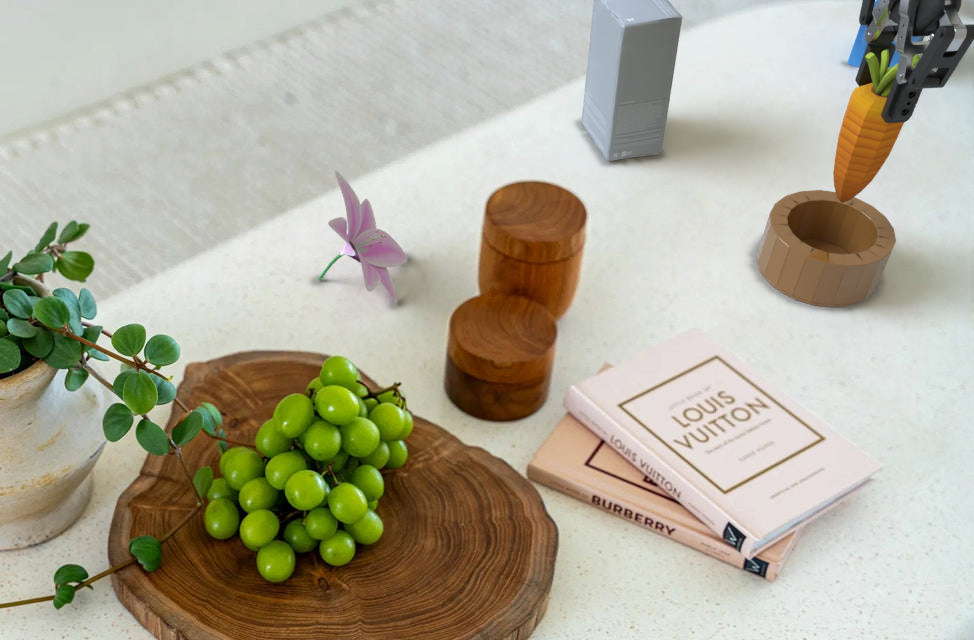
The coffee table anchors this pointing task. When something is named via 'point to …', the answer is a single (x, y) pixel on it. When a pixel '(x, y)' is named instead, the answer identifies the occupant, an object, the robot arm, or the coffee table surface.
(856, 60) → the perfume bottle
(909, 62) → the robot arm
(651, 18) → the cosmetic box
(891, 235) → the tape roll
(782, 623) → the coffee table surface
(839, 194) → the carrot
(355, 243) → the lily
